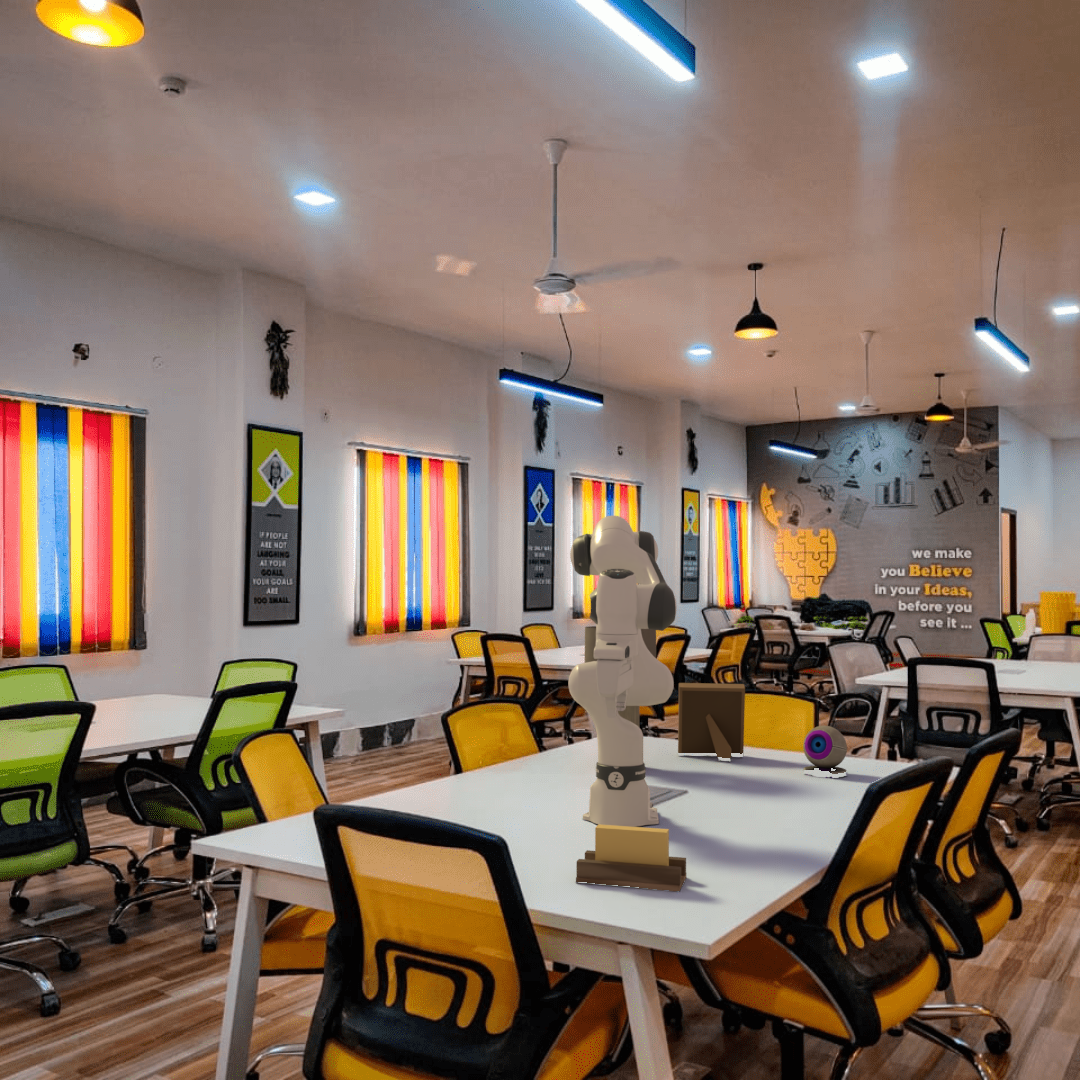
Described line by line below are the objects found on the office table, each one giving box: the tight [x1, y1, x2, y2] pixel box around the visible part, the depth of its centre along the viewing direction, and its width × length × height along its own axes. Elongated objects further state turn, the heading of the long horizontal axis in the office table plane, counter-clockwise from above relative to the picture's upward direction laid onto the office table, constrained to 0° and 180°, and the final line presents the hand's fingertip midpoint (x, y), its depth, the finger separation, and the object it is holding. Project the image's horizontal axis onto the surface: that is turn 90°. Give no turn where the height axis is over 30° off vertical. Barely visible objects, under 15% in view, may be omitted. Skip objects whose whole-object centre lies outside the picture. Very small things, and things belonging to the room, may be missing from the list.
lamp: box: [584, 625, 657, 728], centre depth 333 cm, size 23×23×44 cm
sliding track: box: [575, 849, 687, 892], centre depth 204 cm, size 10×20×4 cm, turn 75°
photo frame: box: [677, 682, 746, 759], centre depth 352 cm, size 15×22×25 cm
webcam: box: [803, 725, 848, 774], centre depth 323 cm, size 13×13×15 cm
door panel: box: [594, 824, 670, 866], centre depth 204 cm, size 3×14×9 cm, turn 75°
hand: (616, 713), depth 217 cm, fingers open, 8 cm apart
